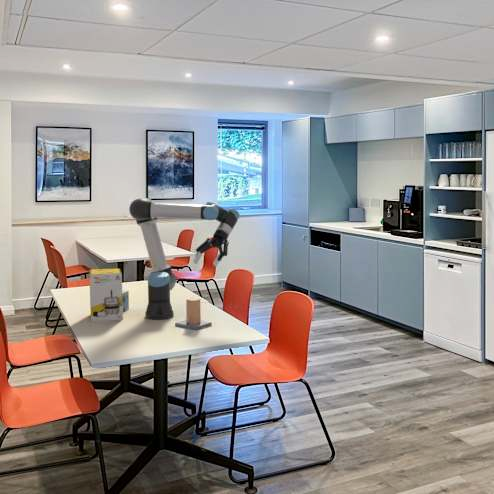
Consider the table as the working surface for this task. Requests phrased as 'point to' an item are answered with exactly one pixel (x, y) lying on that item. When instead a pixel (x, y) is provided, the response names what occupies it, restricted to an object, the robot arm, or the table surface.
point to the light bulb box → (125, 300)
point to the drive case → (193, 310)
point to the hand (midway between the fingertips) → (204, 264)
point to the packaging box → (106, 294)
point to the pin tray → (193, 326)
